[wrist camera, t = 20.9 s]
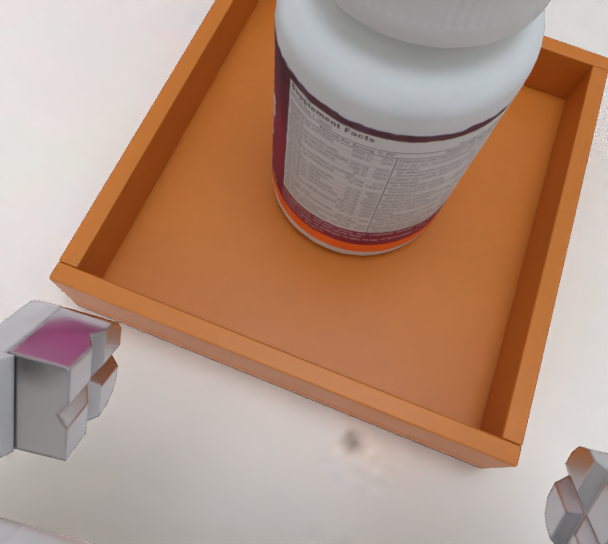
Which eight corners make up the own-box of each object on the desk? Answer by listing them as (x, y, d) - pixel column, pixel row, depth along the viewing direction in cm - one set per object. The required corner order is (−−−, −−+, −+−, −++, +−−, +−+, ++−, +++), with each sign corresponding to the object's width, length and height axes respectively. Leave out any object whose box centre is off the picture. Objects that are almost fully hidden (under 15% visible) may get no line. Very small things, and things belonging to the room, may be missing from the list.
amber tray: (482, 469, 17) (517, 467, 15) (76, 304, 18) (47, 278, 16) (574, 103, 23) (611, 58, 20) (255, -10, 24) (254, -66, 21)
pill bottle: (317, 87, 21) (368, -295, 11) (464, 154, 21) (671, -183, 10) (240, 214, 19) (209, -108, 9) (400, 292, 19) (579, 48, 8)
